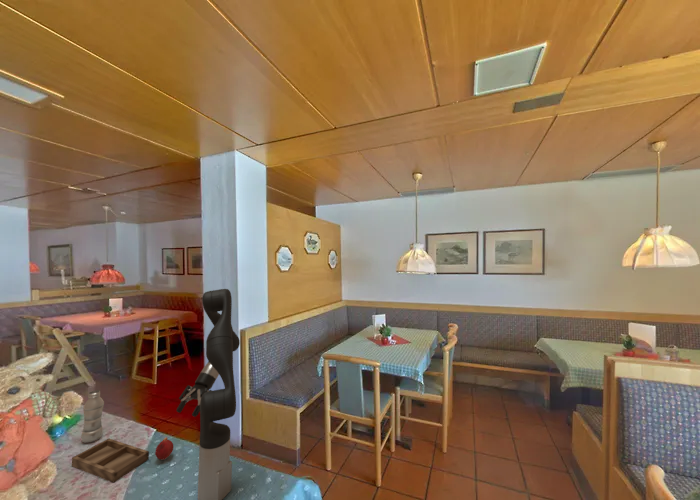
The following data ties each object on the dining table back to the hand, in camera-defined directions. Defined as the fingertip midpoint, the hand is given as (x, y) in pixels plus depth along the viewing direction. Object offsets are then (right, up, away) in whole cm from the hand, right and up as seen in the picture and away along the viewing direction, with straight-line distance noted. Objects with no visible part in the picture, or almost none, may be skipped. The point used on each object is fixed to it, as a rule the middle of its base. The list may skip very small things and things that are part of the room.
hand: (185, 414), depth 116 cm
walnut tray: (-22, -12, -11) cm, 27 cm away
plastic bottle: (-41, -12, +2) cm, 43 cm away
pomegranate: (-3, -12, -9) cm, 16 cm away
